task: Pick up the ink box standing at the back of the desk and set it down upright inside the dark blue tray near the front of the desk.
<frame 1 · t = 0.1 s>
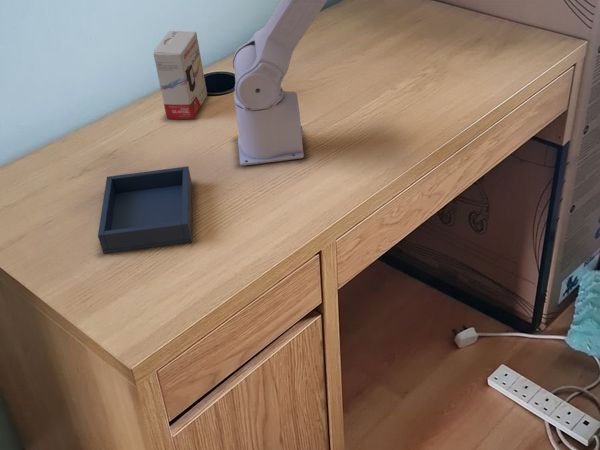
dark blue tray: (149, 217, 108), on the table
ink box: (187, 107, 132), on the table
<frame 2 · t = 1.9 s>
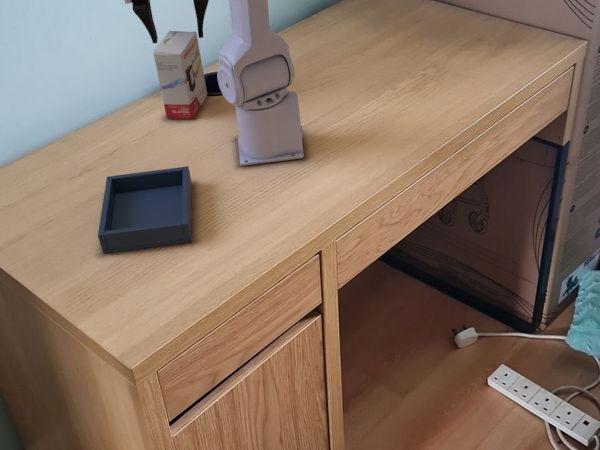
hand: (178, 38, 132), 9 cm above the table, tool pointing down, fingers open, 7 cm apart
nothing on the table moved.
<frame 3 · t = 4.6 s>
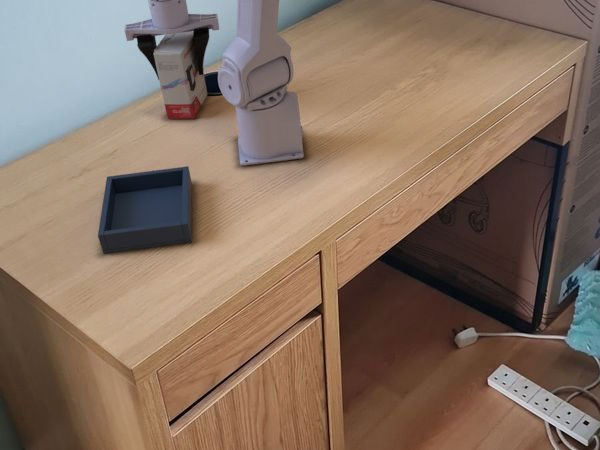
hand: (181, 74, 129), 6 cm above the table, tool pointing down, fingers closed on ink box, 6 cm apart
ink box: (187, 107, 132), on the table, touching gripper
when the fingers open (7 cm above the table, at t = 10.0 s): ink box stays where it is, resting on dark blue tray.
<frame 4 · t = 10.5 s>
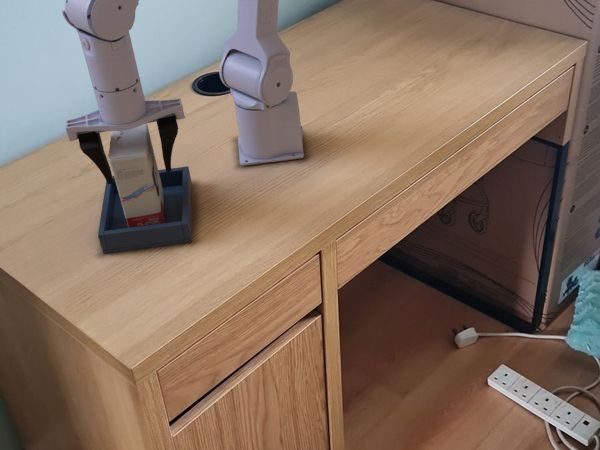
hand: (139, 173, 104), 7 cm above the table, tool pointing down, fingers open, 7 cm apart
ink box: (147, 214, 108), resting on dark blue tray
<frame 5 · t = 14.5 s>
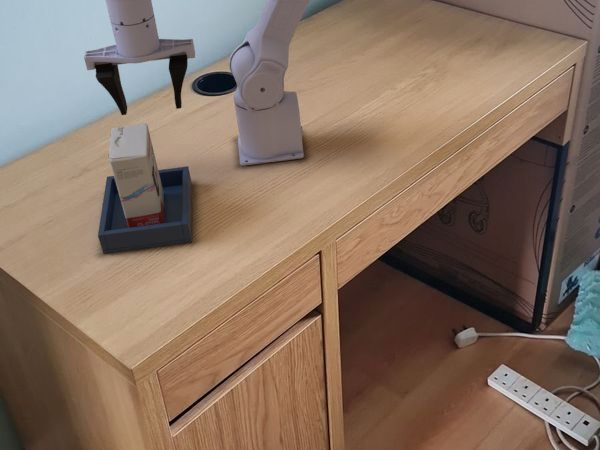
hand: (151, 108, 111), 10 cm above the table, tool pointing down, fingers open, 7 cm apart
nothing on the table moved.
at the end: ink box 0.2 cm off-centre in the dark blue tray, point 0.4 cm above the dark blue tray's base; ink box tilted 0°; the gripper is holding nothing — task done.
